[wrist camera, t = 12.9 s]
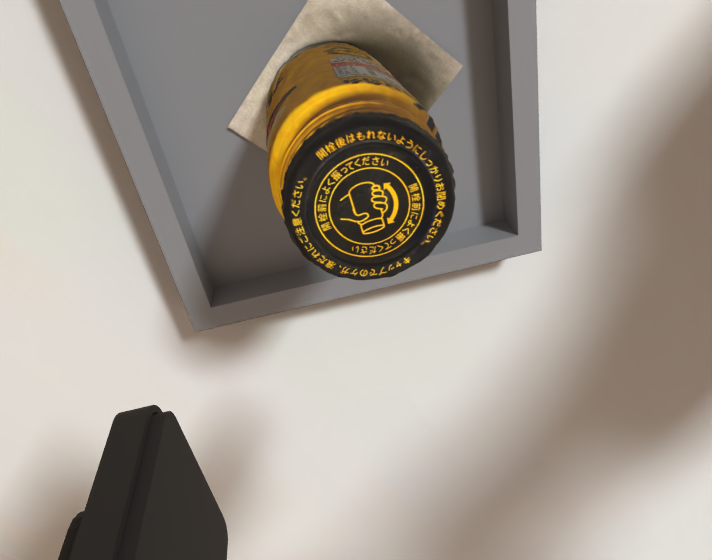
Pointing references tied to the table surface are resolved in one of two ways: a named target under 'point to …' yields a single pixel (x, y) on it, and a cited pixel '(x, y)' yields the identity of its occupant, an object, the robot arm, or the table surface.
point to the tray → (250, 162)
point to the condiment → (355, 137)
